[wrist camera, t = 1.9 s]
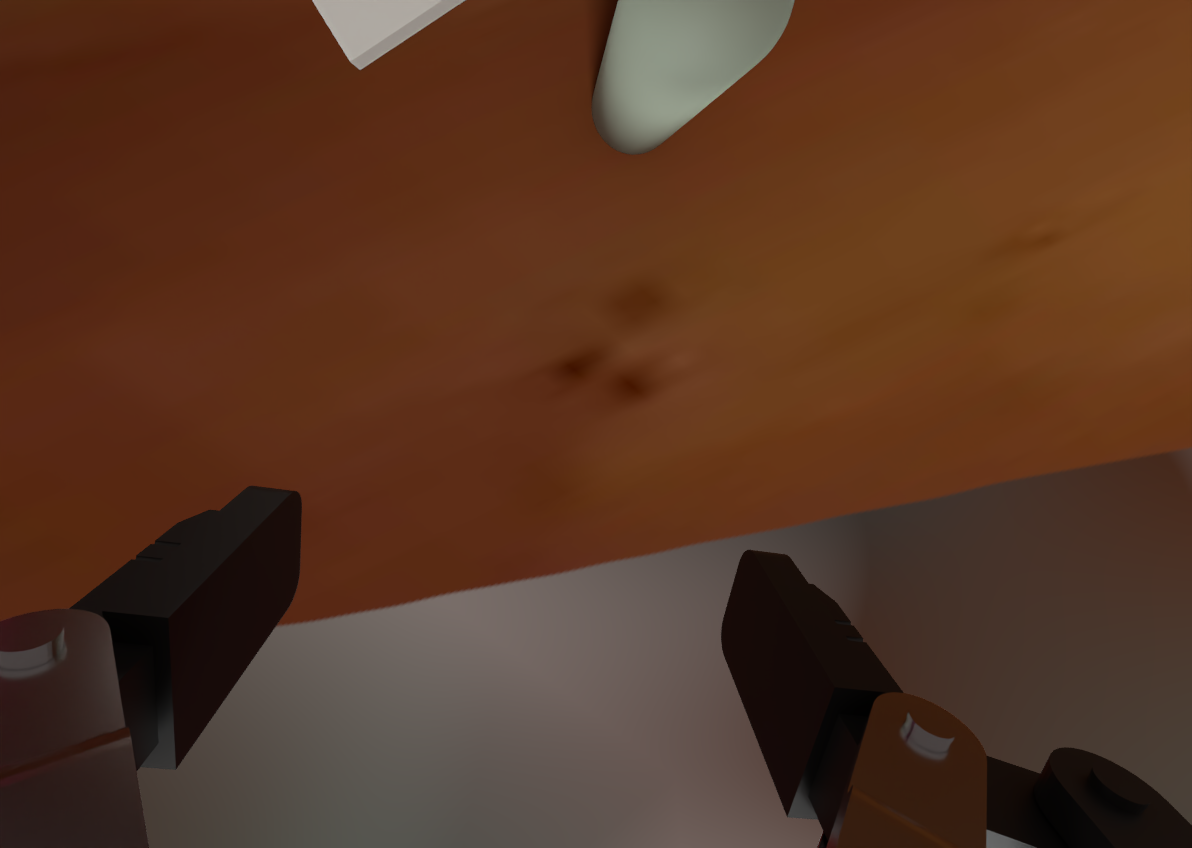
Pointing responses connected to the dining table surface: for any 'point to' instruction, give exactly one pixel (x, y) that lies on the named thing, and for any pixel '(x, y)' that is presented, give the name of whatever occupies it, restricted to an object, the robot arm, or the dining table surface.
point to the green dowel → (676, 63)
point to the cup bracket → (378, 23)
